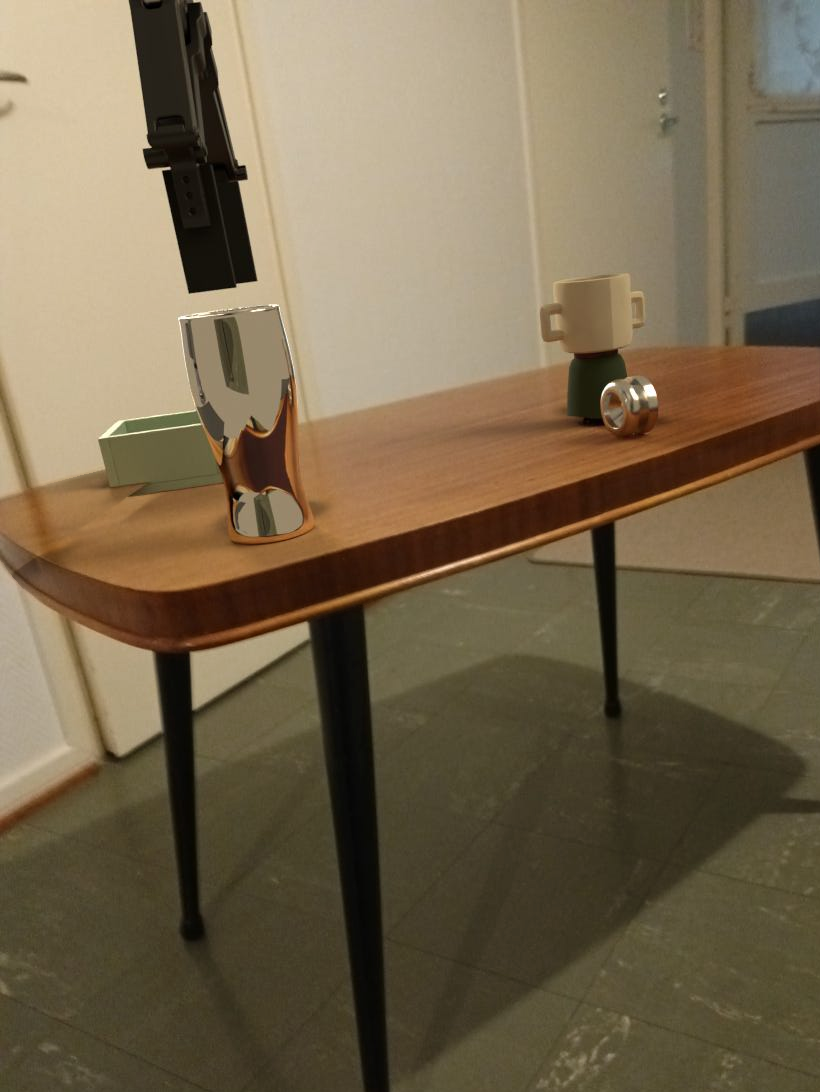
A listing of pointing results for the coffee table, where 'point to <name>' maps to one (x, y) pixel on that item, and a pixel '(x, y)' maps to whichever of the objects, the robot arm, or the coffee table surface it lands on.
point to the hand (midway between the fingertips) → (227, 287)
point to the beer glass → (249, 418)
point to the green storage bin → (159, 453)
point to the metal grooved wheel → (629, 406)
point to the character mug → (592, 334)
